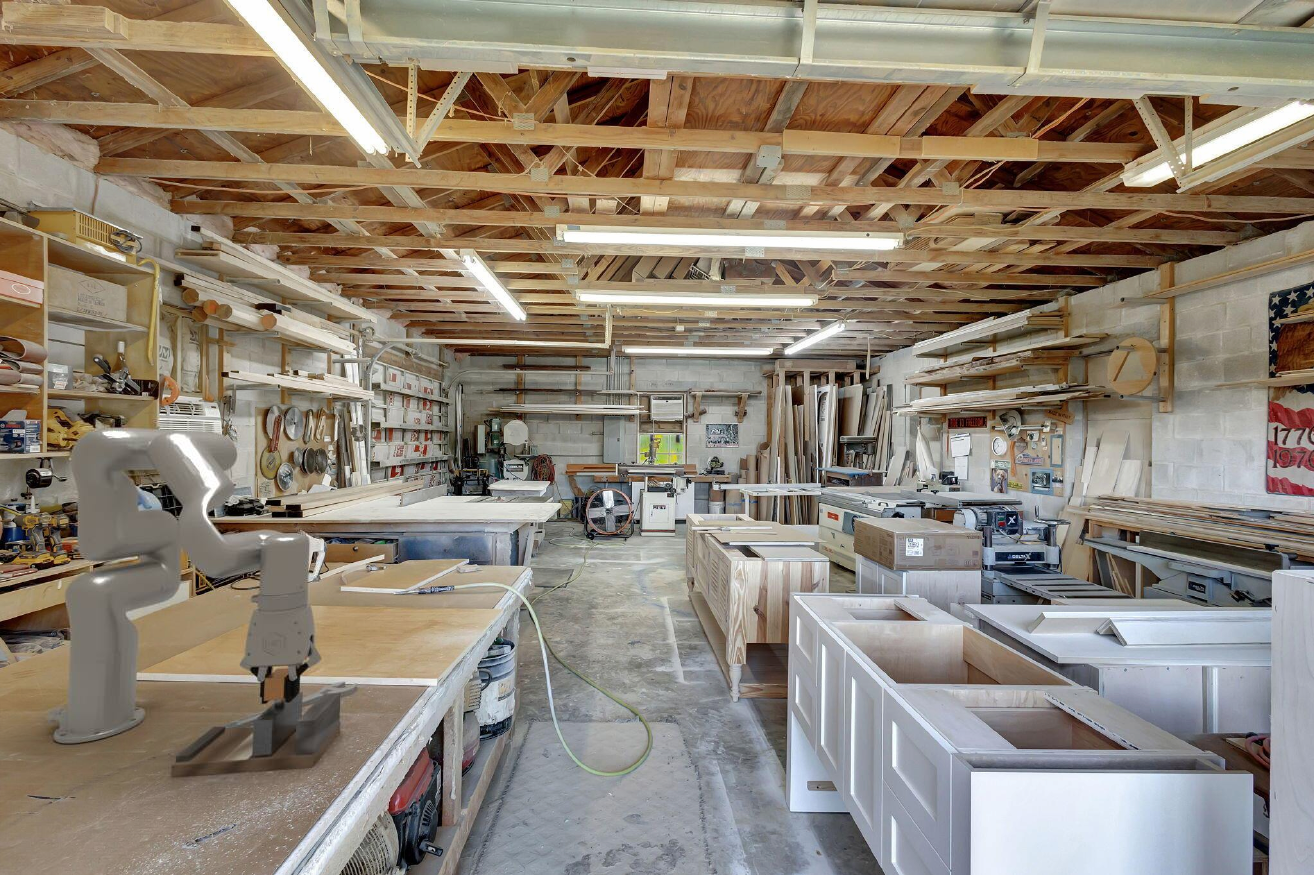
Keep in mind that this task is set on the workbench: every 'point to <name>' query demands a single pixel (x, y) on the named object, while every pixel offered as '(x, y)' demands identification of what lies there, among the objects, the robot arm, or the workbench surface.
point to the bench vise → (234, 755)
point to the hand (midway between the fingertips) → (279, 698)
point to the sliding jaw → (276, 715)
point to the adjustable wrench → (305, 702)
